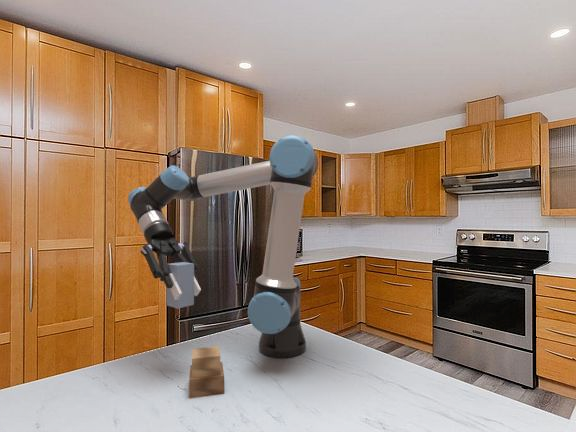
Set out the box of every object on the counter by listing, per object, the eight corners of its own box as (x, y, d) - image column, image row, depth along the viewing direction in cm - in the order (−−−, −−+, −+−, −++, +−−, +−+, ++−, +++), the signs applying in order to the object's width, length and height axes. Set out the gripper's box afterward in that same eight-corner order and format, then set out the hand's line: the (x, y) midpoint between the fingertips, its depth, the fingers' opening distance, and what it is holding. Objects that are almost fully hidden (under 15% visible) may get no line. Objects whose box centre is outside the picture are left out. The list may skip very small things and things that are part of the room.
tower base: (222, 379, 88) (222, 361, 88) (224, 394, 80) (224, 375, 80) (190, 383, 86) (190, 365, 86) (189, 399, 78) (189, 379, 78)
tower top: (219, 363, 87) (219, 346, 87) (220, 374, 80) (220, 356, 80) (193, 366, 85) (193, 348, 85) (192, 378, 79) (192, 358, 79)
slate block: (183, 301, 93) (183, 262, 93) (193, 304, 90) (193, 263, 90) (166, 305, 89) (166, 263, 90) (177, 308, 86) (177, 265, 86)
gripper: (179, 237, 107) (210, 297, 96) (120, 240, 93) (150, 310, 82) (188, 220, 103) (222, 280, 92) (129, 221, 90) (161, 291, 79)
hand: (188, 294), depth 87 cm, fingers closed on slate block, 5 cm apart
